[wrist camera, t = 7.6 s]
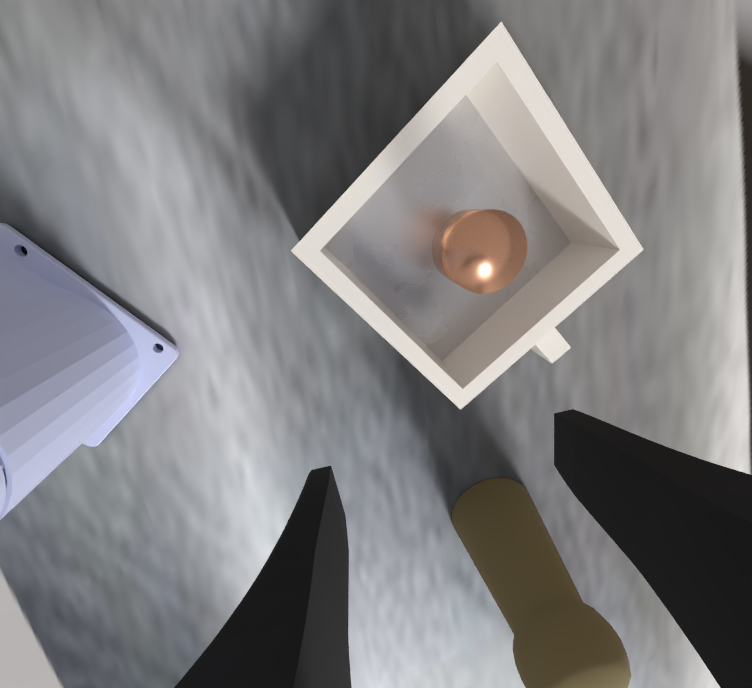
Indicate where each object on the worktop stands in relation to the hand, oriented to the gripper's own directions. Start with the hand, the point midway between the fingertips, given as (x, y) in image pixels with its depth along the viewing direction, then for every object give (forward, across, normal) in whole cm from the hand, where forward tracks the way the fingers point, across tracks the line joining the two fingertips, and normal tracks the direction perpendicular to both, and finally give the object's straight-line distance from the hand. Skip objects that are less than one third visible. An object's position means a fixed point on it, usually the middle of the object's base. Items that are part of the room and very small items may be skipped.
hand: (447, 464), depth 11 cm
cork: (+10, -5, +14) cm, 19 cm away
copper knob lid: (+10, -4, -5) cm, 12 cm away
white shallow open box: (+10, -4, -5) cm, 12 cm away
